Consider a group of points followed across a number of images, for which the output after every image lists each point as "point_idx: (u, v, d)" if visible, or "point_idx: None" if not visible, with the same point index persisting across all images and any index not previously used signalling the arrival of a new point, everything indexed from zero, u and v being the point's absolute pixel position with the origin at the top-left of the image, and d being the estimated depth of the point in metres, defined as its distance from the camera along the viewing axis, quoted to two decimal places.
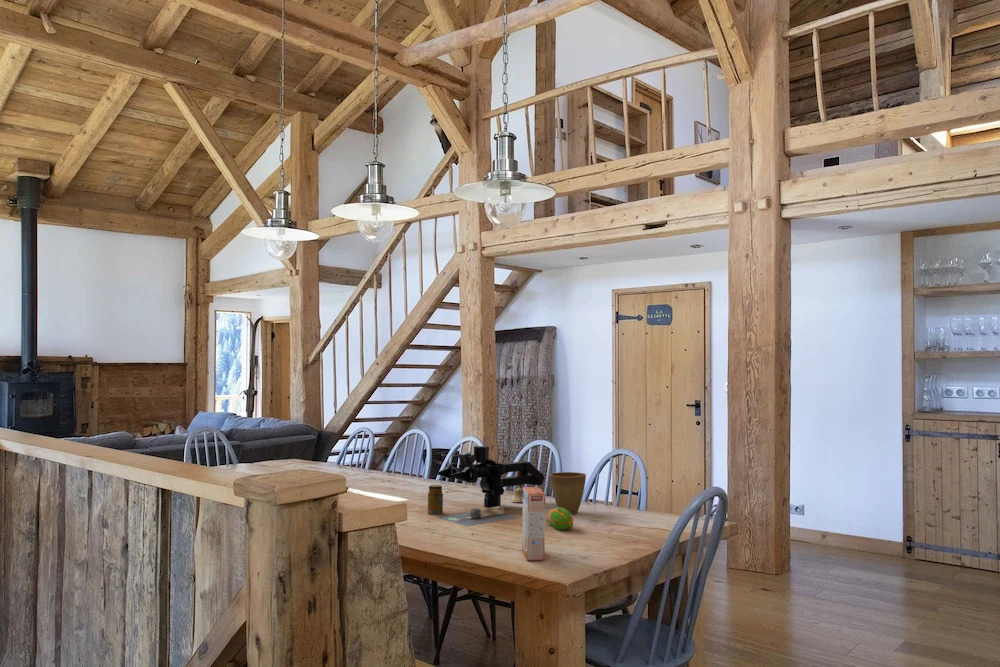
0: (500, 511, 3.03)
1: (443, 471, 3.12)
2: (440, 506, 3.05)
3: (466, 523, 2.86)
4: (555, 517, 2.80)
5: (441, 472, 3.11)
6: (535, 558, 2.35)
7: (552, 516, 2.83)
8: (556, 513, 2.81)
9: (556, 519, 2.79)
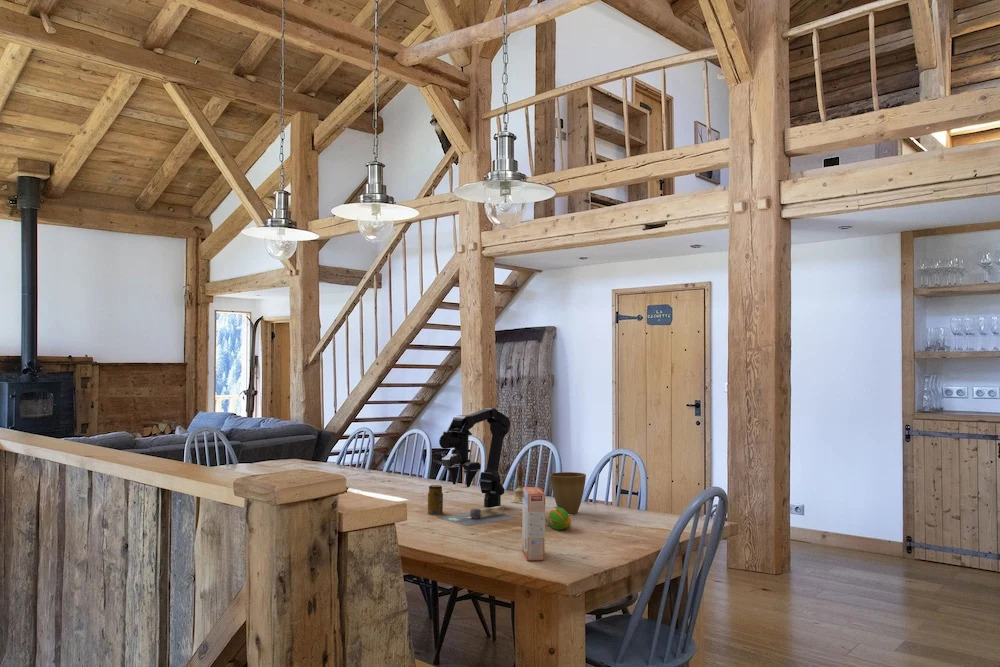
0: (500, 511, 3.03)
1: (453, 477, 3.10)
2: (440, 506, 3.05)
3: (466, 523, 2.86)
4: (552, 517, 2.80)
5: (454, 480, 3.10)
6: (535, 558, 2.35)
7: (550, 516, 2.83)
8: (554, 513, 2.81)
9: (553, 519, 2.79)
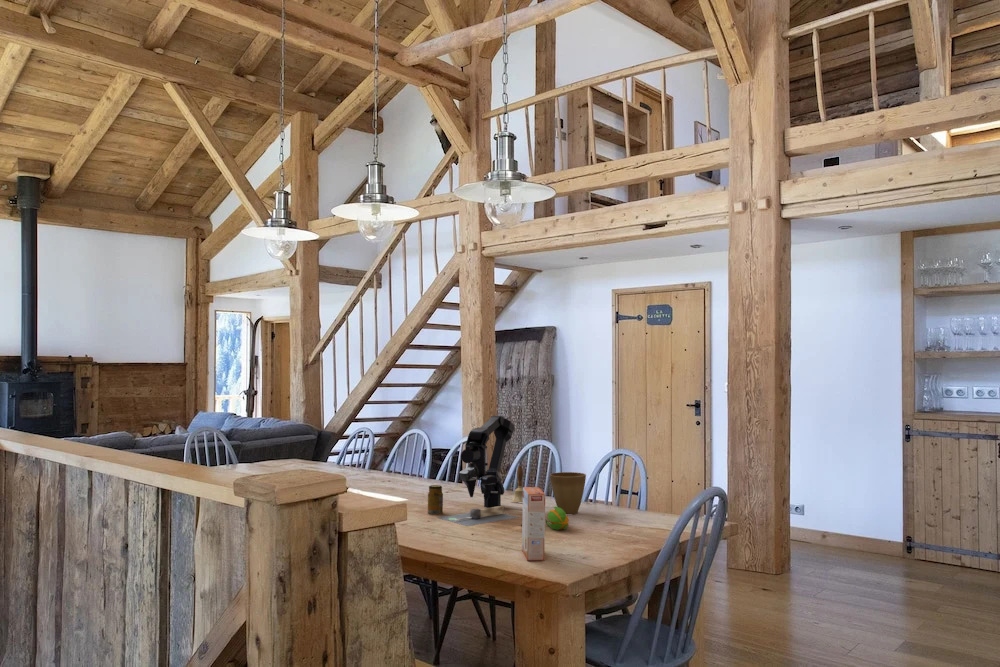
0: (500, 511, 3.03)
1: (470, 490, 3.13)
2: (440, 506, 3.05)
3: (466, 523, 2.86)
4: (550, 517, 2.80)
5: (471, 493, 3.13)
6: (535, 558, 2.35)
7: (548, 516, 2.83)
8: (551, 513, 2.81)
9: (551, 519, 2.79)
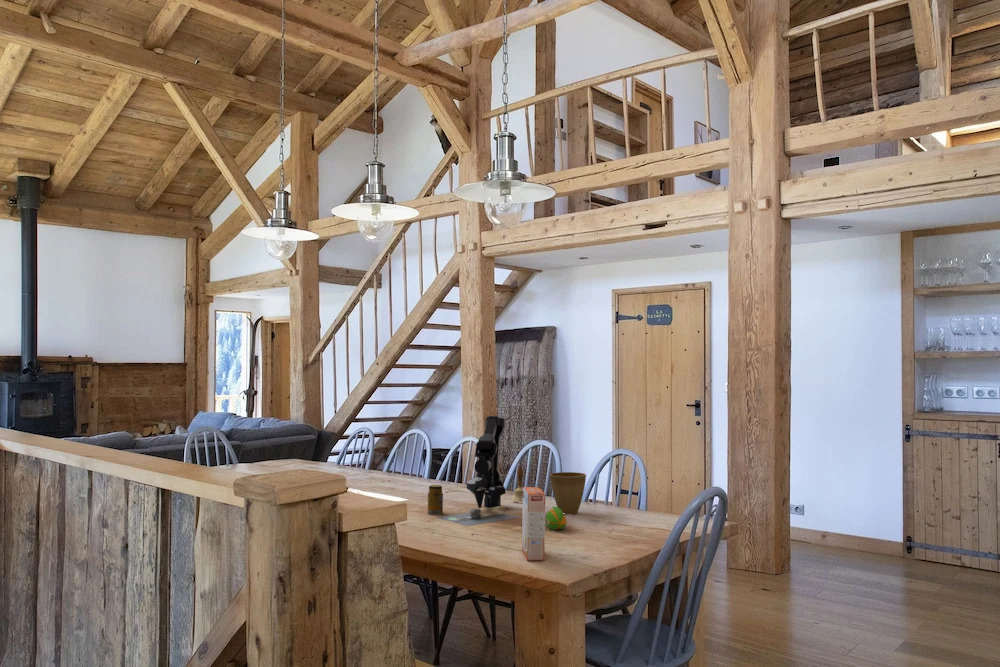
0: (500, 511, 3.03)
1: (478, 501, 3.09)
2: (440, 506, 3.05)
3: (466, 523, 2.86)
4: (548, 517, 2.81)
5: (479, 504, 3.09)
6: (535, 558, 2.35)
7: (546, 516, 2.84)
8: (549, 513, 2.82)
9: (548, 519, 2.80)
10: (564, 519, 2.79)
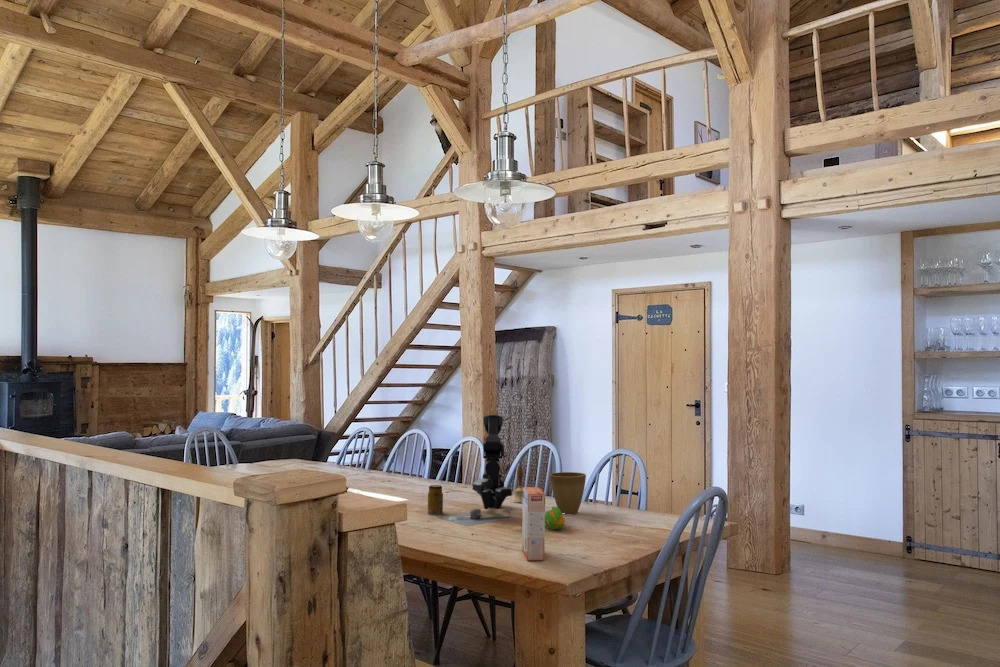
0: (505, 513, 2.98)
1: (485, 502, 3.05)
2: (440, 506, 3.05)
3: (466, 523, 2.86)
4: (546, 517, 2.81)
5: (486, 505, 3.05)
6: (535, 558, 2.35)
7: (545, 515, 2.84)
8: (548, 513, 2.82)
9: (546, 519, 2.80)
10: (562, 519, 2.79)
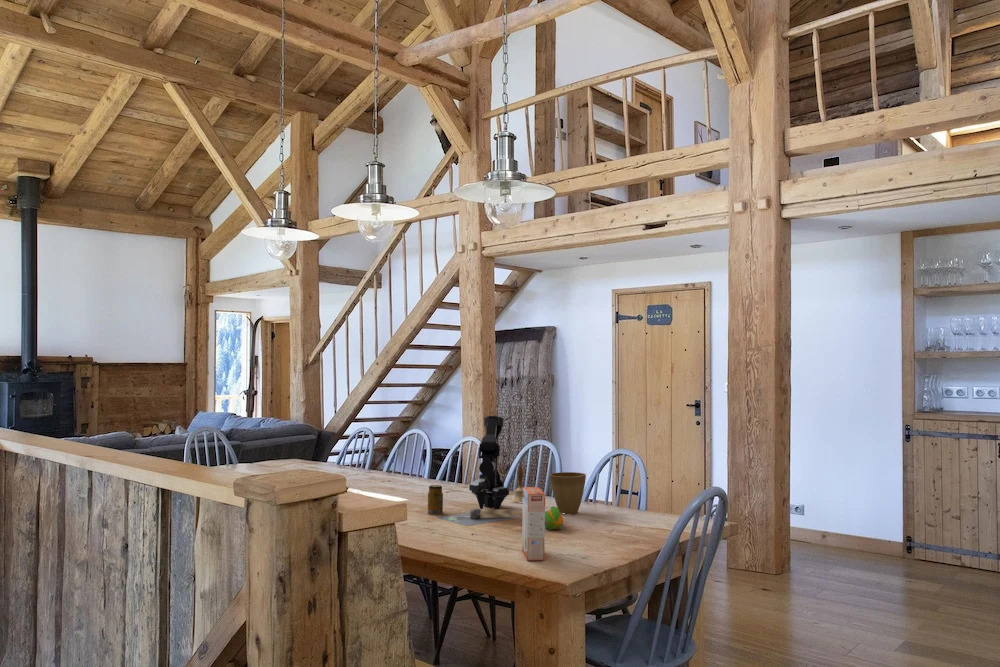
0: (506, 514, 2.97)
1: (480, 502, 3.08)
2: (440, 506, 3.05)
3: (466, 523, 2.86)
4: None
5: (481, 505, 3.08)
6: (535, 558, 2.35)
7: None
8: (546, 513, 2.82)
9: (545, 518, 2.80)
10: (560, 519, 2.79)
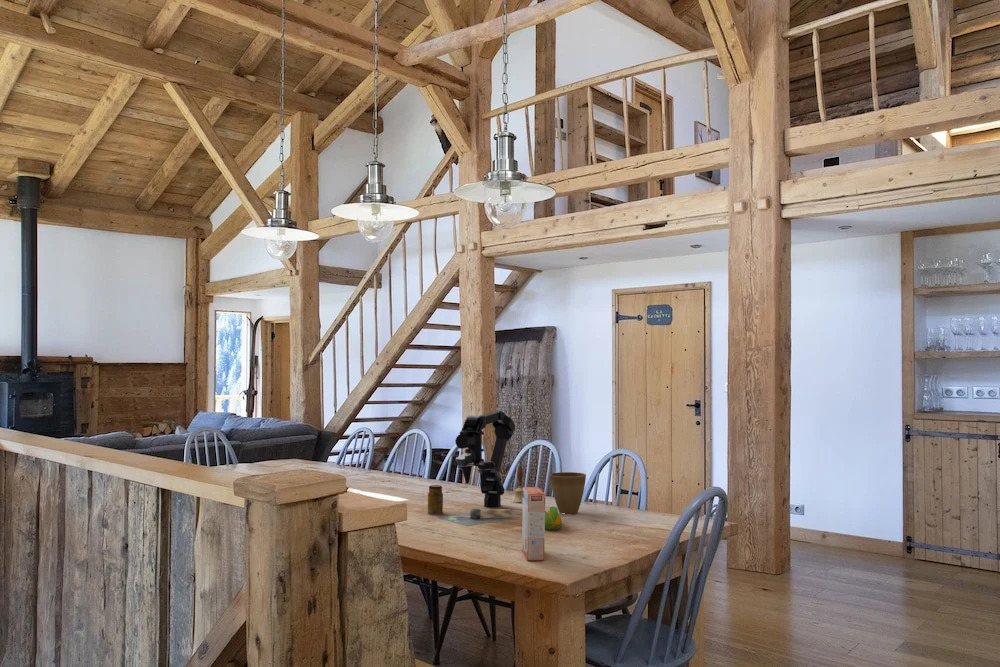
0: (506, 514, 2.97)
1: (466, 476, 3.13)
2: (440, 506, 3.05)
3: (466, 523, 2.86)
4: None
5: (467, 479, 3.13)
6: (535, 558, 2.35)
7: None
8: None
9: None
10: (558, 519, 2.79)
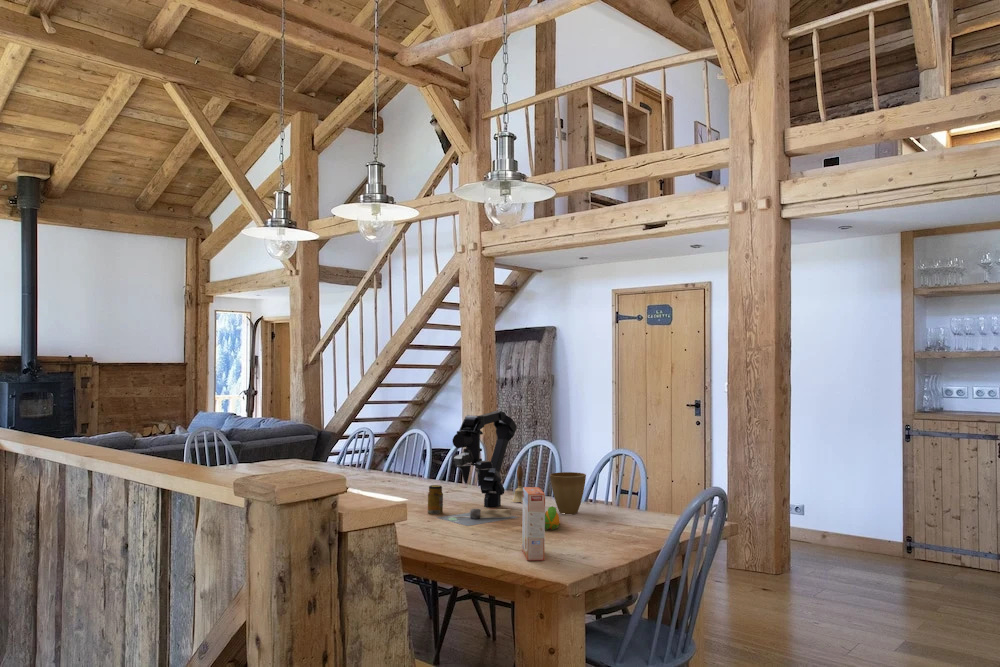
0: (506, 514, 2.97)
1: (465, 476, 3.14)
2: (440, 506, 3.05)
3: (466, 523, 2.86)
4: None
5: (465, 479, 3.14)
6: (535, 558, 2.35)
7: None
8: None
9: None
10: (556, 519, 2.79)
